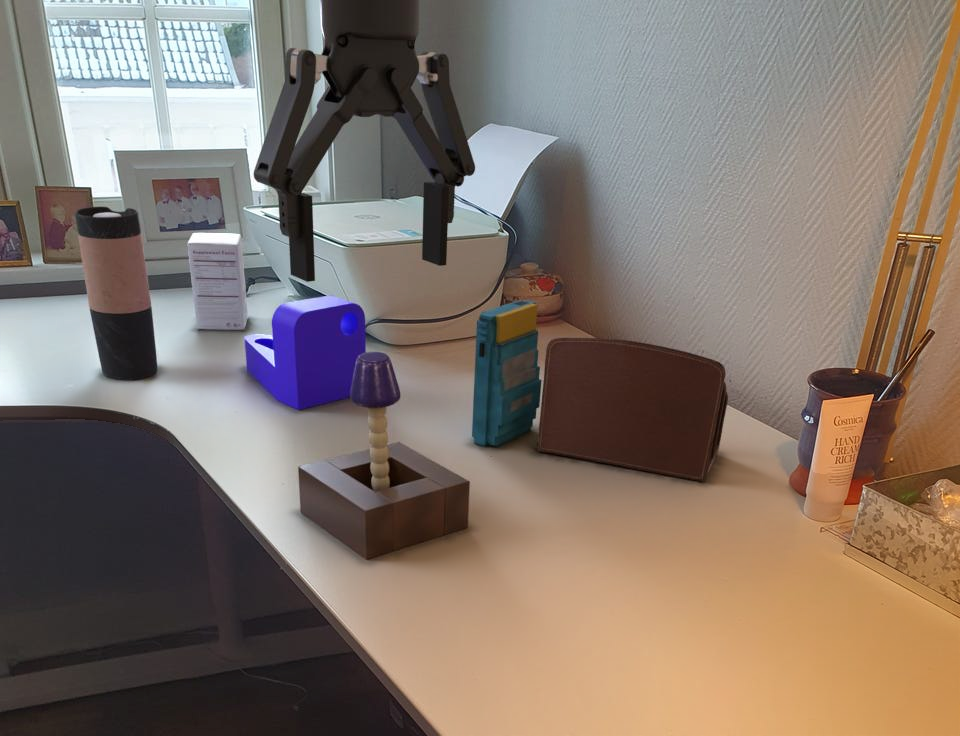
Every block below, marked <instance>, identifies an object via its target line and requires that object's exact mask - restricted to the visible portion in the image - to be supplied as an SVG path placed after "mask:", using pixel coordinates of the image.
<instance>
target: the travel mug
mask: <svg viewBox="0 0 960 736" xmlns="http://www.w3.org/2000/svg"><path fill="white" fill-rule="evenodd" d="M74 217H75V224H76V230H77V238H78V243H79V250H80V257H81V263H82V270H83V276H84V283H85V289H86V296H87V301H88V308H89V313H90V319H91V324H92V329H93V333H94V339H95V343H96V348H97V353H98V358H99V363H100V368H101V372H102V375H103V376H104V377H107V378H109V379H112V380H120V381H122V380H123V381H131V380H141V379H146V378H149V377H152V376H154V375H155V374H157V372H158V370H159V369H158V358H157V357H158V356H157V347H156V337H155V328H154V317H153V309H152V307H153V306H152V299H151V292H150V285H149V277H148V271H147V263H146V258H145V252H144V251H145V249H144V242H143V235H142V229H141V228H142V227H141V222H140V215H139V211H138V210H136V209H134V208H131V207H128V208H126V209H125V210H124V211H115V210H112V209H111V208H110V207H108V206H90V207H89V206H88V207H83V208H79V209H77V210H75V212H74Z"/></svg>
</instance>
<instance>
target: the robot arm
mask: <svg viewBox="0 0 960 736" xmlns="http://www.w3.org/2000/svg"><path fill="white" fill-rule="evenodd" d="M320 27H321V31H322V34H323V39H324V40H323V41H324V43H323V48H322V52H321V54H318V53H315V52H313V50H311V49H302V48H297V47H290V48H288V49H287V51H286V53H285V65H284V81H283V82H284V83H283V85H282V87H281V91H280V94H279V96H278V100H277V102H276V106H275V108H274V112H273V114H272V117H271V120H270V123H269V126H268V129H267V132H266V134H265V138H264V140H263V144H262V146H261V150H260V151H259V155H258V158H257V161H256V164H255V167H254V170H253V178H254V180H255V181H256V182H257V183H260V184H263V185H265V186H268V187H270V188H272V189H274V190H275V191H276V193H277V198H278V199H277V200H278V201H277V203H278V219H279V220H278V221H279V230H280V232H281V235H283V236H285V237H287V238H288V245H289V266H290V267H289V268H290V269H289V271H290V276H293V277H295V278H298V279H300V280H302V281H304V282H307V283H310V282H316V268H315V264H316V263H315V240H314V239H315V238H314V237H315V235H314V207H313V195H312V194H307V193H305V192H303V191H304V189H305V188H306V187H307V184H308V183H309V182H310V181H311V178H312V177H313V175H314V174H315V172H316V171H317V169H318V167H319V165H320V164H321V162H322V160H323V159H324V157H325V156H326V154H327V152H328V150H329V149H330V148H331V146H332V145H333V143H334V141H335V139H336V138H337V136H338V135H339V133H340V131H341V130H342V128H343V127H344V125H346V124H348V123H349V122H350V121H351V120H352V119H353V117H360V118H370V117H373V116H375V115H377V116H381V117H385V118H386V117H388V118H390V117H392V118H393V119H395V121H396V122H397V124H398V125H399V126H400V128H401V131H402V132H403V133H404V135H405V136H406V138H407V140H408V142H409V143H410V144H411V146H412V148H413V149H414V152H416V154H417V157H419V159H420V161H421V162H422V164H423V166H424V167H425V169H426V170H427V172H428V173H429V176H430V177H431V178H432V180H433V181H434V182H433V181H423V196H422V197H423V201H422V203H423V204H422V208H423V209H422V238H421V239H422V240H421V241H422V246H421V260H422V261H425V262H428V263H431V264H434V265H436V266H438V267H441V266H447V259H448V258H447V257H448V254H447V253H448V233H449V232H448V231H449V229H448V228H449V224H452V223H453V222H454V221H453V220H454V218H455V195H456V194H455V193H456V187H457V188H458V187H461V186H462V185H463V184H464V181H465V177H466V176H468V177H471V176H473V175H475V174H474V173H475V172H476V164H475V160H474V158H473V153H472V151H471V148H470V144H469V141H468V138H467V135H466V131H465V128H464V125H463V123H462V119H461V116H460V113H459V109H458V107H457V102H456V99H455V97H454V94H453V93H454V92H453V90H452V87H451V80H450V61H449V57H448V55H447V54H446V53H442V52H441V53H439V52H433V51H423V52H421V53H420V55H417V52H416V46H415V45H416V40H417V37H418V36H419V33H420V0H320ZM321 75H322V76H323V78H324V79H325V81H326V84H327V85H328V86H327V87H326V89H325V90H324V92H323V93H322V95H321V97H320V98H319V100H318V102H317V103H316V111H315V113H314V114H313V115H312V118H310V121H309V122H308V124H307V126H306V127H305V129H304V131H303V132H302V134H301V135H300V133H301V129H302V127H303V124H304V121H305V118H306V115H307V112H308V109H309V107H310V104H311V101H312V97H313V94H314V91H315V85H316V84H317V83H318V82H319V81H320V80H321V78H322V76H321ZM416 79H417V80H418V81H419V83H420V85H421V90H422V93H423V96H424V97H423V98H424V100H425V102H426V106H427V109H428V111H429V114H430V117H431V120H432V123H433V126H434V130H435V132H436V133H435V132H434V130H433V128H432V127H431V124H430V123H429V121H428V120H427V118H426V116H425V115H424V112H423V111H424V108H423V106H422V104H421V102H420V101H419V99H418V97H417V96H416V94H415V92H414V91H413V89H412V86H413V85H414V83H415V82H416ZM298 138H299V139H298Z"/></svg>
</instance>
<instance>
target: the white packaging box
mask: <svg viewBox="0 0 960 736" xmlns="http://www.w3.org/2000/svg"><path fill="white" fill-rule="evenodd" d="M186 245H187V253H188V260H189V270H190V280H191V289H192V299H193V306H194V307H193V308H194V314H195V323H196V329H198V330H223V331H224V330H225V331H229V330H230V331H243V330H245V329H246V325H247V321H248V317H249V312H248V300H247V291H246V290H247V288H246V279H245V267H244V266H245V265H244V254H243V253H244V252H243V243H242V235H241V233H228V232H227V233H225V232H224V233H223V232H222V233H221V232H214V233H213V232H193V233H192V235H191V236H190V237H189V240H188V241H187V244H186Z"/></svg>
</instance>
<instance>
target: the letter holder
mask: <svg viewBox="0 0 960 736" xmlns="http://www.w3.org/2000/svg"><path fill="white" fill-rule="evenodd" d="M725 381H726V369H725V366H724V364H723V363H721V362H720V361H717V360H714V359H712V358H708V357H706V356H703V355H699V354H697V353H692V352H688V351H684V350H680V349H677V348H672V347H666V346H661V345H657V344H652V343H646V342H641V341H633V340H629V339H628V340H627V339H617V338H604V337H603V338H602V337H557V338H556V337H555V338H553V339H551V340H550V341H549V342H548V344H547V346H546V350H545V359H544V373H543V384H542V393H541V401H540V402H541V403H540V404H541V405H540V413H539V423H538V424H539V425H538V426H539V427H538V437H537V443H536V445H537V452H539V453H543V454H550V455H556V456H562V457H567V458H574V459H579V460H584V461H589V462H594V463H595V462H596V463H600V464H606V465H611V466H616V467H621V468H625V469H631V470H636V471H643V472H648V473H652V474H657V475H663V476H669V477H675V478H679V479H686V480H690V481H697V482H701V483H705V482H706V480H707V478H708V476H709V473H710V471H711V469H712V467H713V464H714V463H715V460H716V458H717V455H718V453H719V450H720V445H721V440H722V434H723V428H724V422H725V417H726V412H727V407H728V403H729V393H728V391H727V383H726V382H725Z"/></svg>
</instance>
